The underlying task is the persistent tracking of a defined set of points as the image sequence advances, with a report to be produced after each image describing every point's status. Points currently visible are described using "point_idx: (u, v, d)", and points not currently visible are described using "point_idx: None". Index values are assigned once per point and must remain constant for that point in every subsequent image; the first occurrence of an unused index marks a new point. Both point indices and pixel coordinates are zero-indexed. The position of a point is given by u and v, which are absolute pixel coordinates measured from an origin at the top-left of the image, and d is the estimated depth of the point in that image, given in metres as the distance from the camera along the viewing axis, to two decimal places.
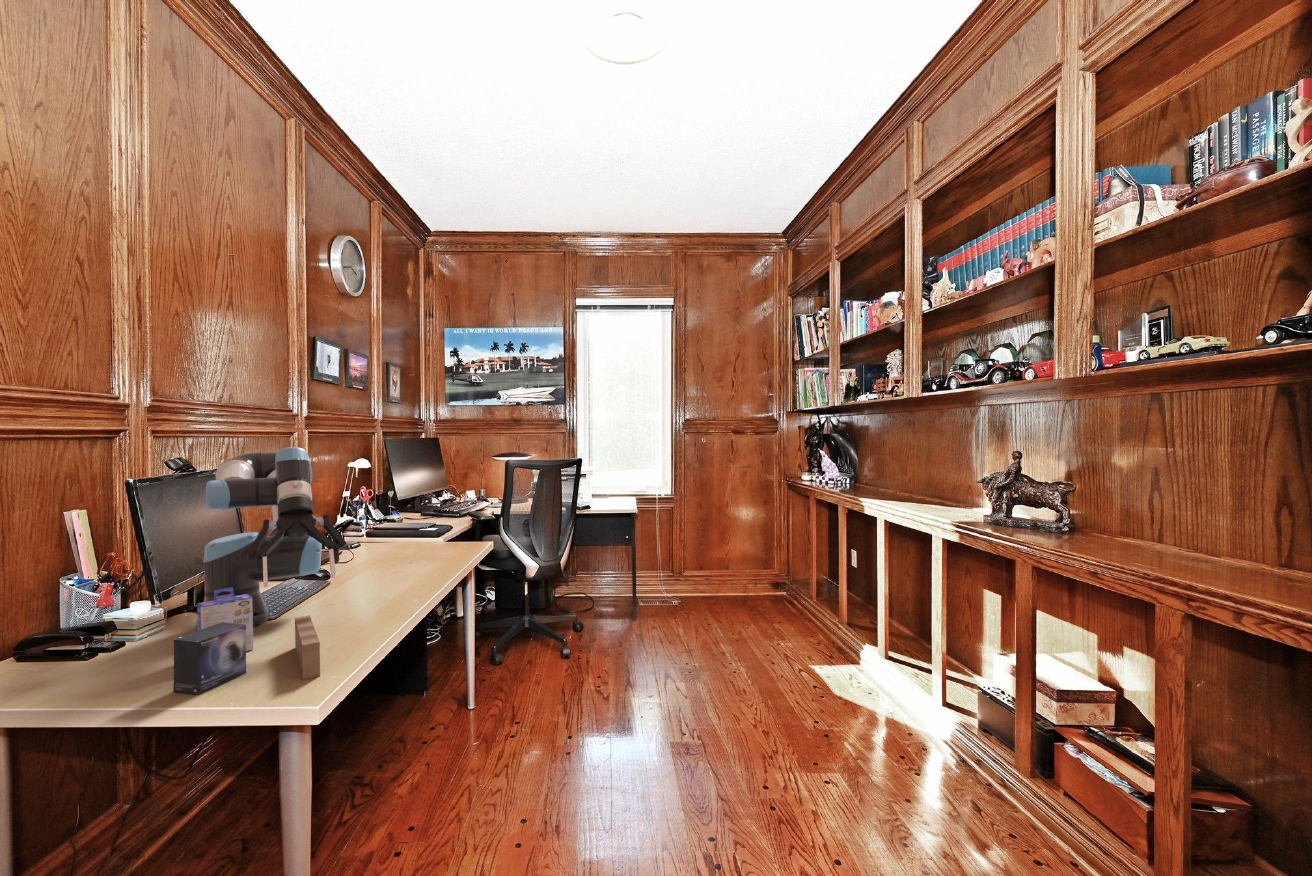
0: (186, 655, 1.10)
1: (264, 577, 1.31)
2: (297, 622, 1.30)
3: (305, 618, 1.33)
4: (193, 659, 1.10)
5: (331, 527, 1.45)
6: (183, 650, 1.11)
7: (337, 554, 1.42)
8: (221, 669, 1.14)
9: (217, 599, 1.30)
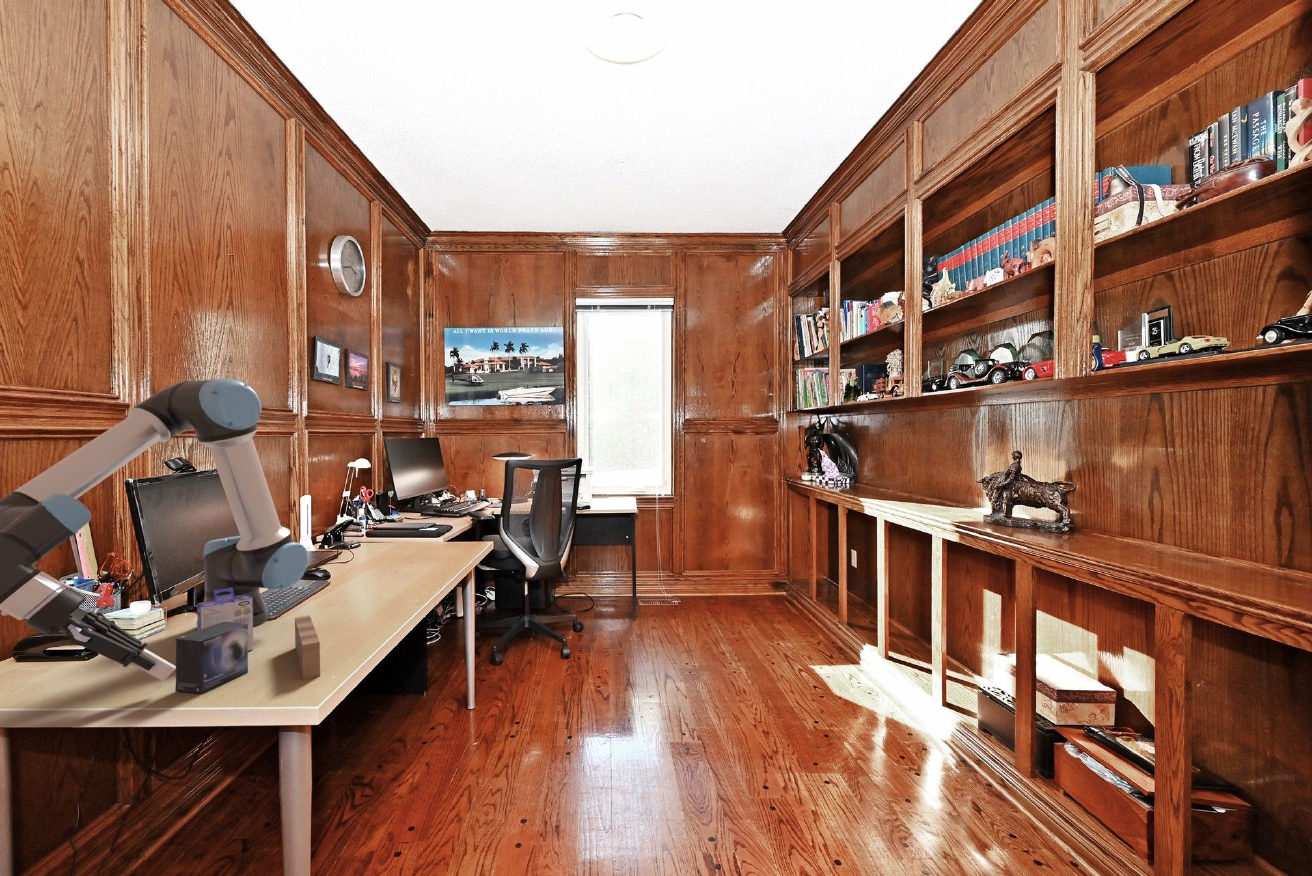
0: (188, 655, 1.11)
1: None
2: (297, 622, 1.30)
3: (305, 618, 1.33)
4: (196, 658, 1.10)
5: None
6: (185, 649, 1.11)
7: None
8: (223, 668, 1.15)
9: (217, 599, 1.30)
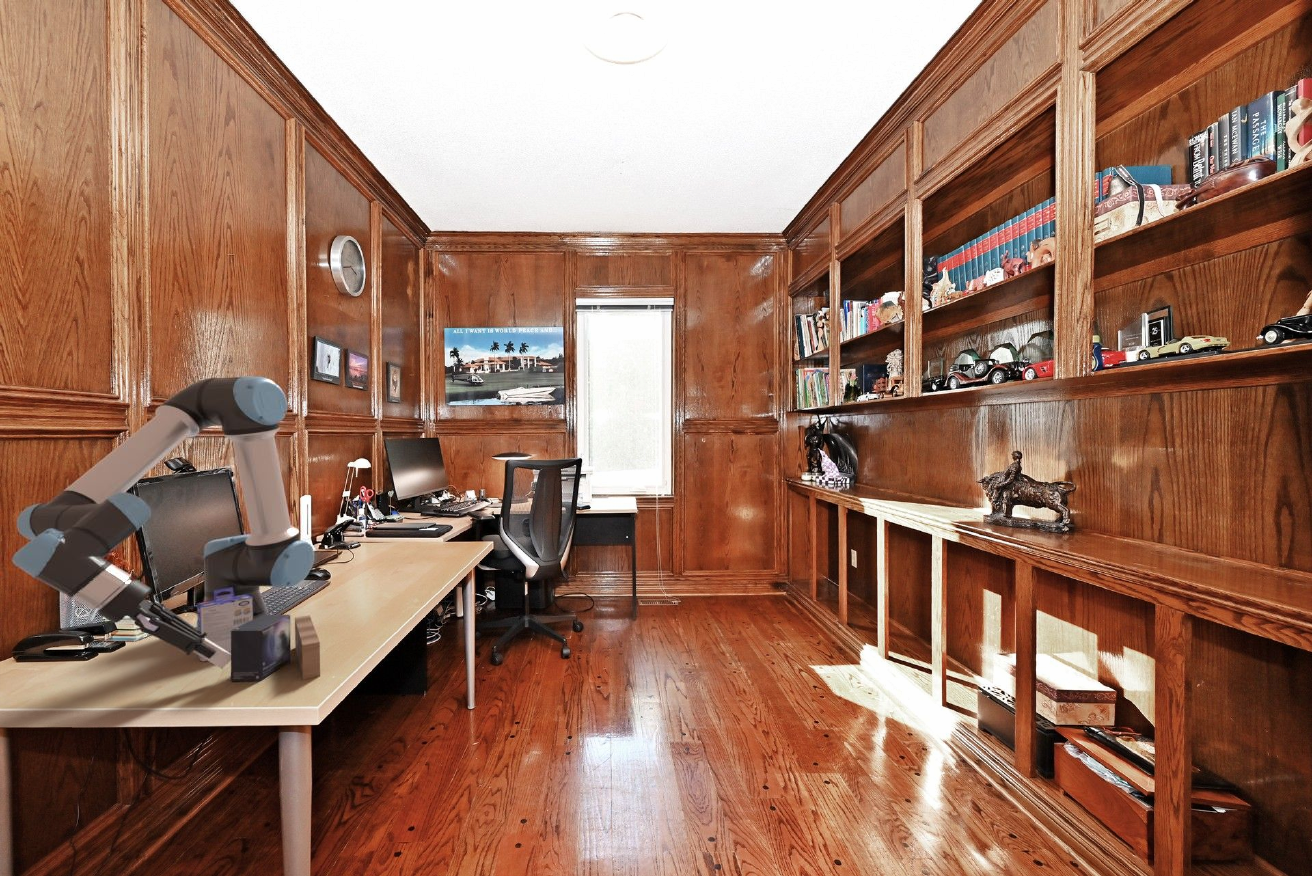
0: (246, 645, 1.16)
1: None
2: (297, 622, 1.30)
3: (305, 618, 1.33)
4: (255, 647, 1.16)
5: None
6: (243, 640, 1.16)
7: None
8: (276, 656, 1.20)
9: (217, 599, 1.30)
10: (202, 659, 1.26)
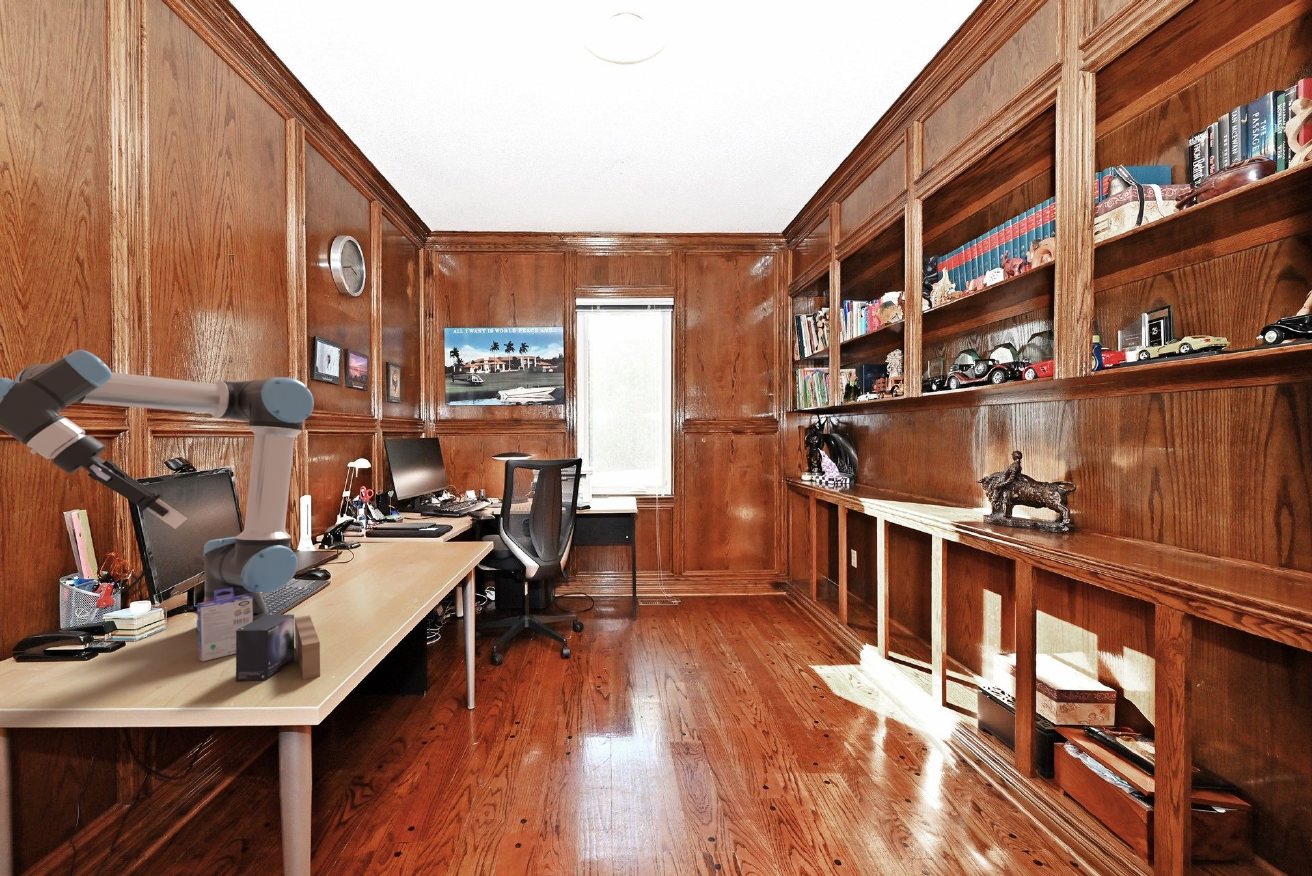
0: (252, 644, 1.16)
1: None
2: (297, 622, 1.30)
3: (305, 618, 1.33)
4: (260, 647, 1.16)
5: None
6: (248, 640, 1.16)
7: None
8: (280, 656, 1.21)
9: (217, 599, 1.30)
10: (202, 659, 1.26)
